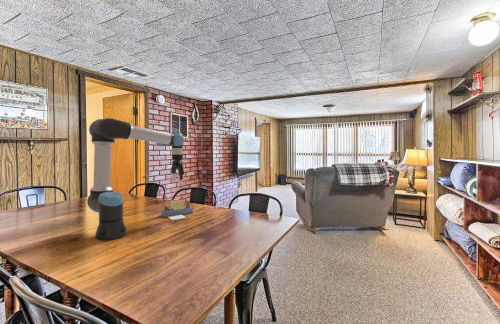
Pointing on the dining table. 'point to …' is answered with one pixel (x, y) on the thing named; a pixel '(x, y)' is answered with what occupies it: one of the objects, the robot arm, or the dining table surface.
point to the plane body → (177, 212)
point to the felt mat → (176, 217)
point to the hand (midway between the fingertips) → (177, 183)
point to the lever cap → (177, 204)
